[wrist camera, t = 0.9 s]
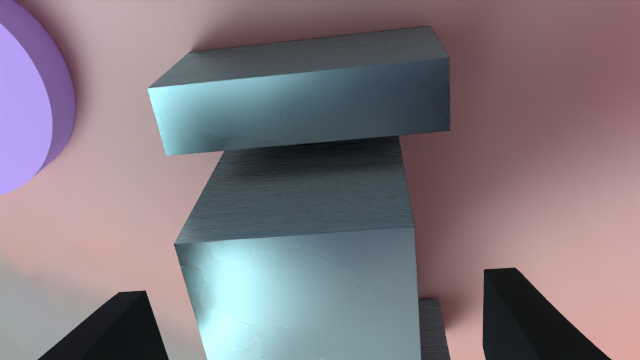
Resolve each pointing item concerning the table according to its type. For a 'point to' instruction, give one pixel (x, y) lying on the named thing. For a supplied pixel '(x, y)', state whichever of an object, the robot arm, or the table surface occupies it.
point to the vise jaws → (311, 103)
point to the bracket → (30, 97)
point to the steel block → (305, 254)
